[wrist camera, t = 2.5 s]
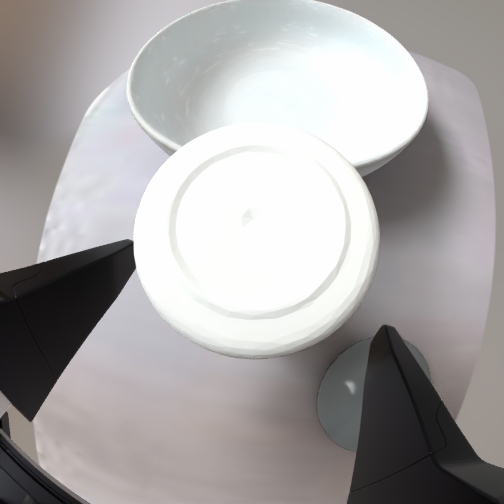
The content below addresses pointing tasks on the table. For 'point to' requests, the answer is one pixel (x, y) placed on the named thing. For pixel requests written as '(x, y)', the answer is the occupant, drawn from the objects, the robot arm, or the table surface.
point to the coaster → (349, 393)
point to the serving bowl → (280, 78)
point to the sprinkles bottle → (256, 240)
